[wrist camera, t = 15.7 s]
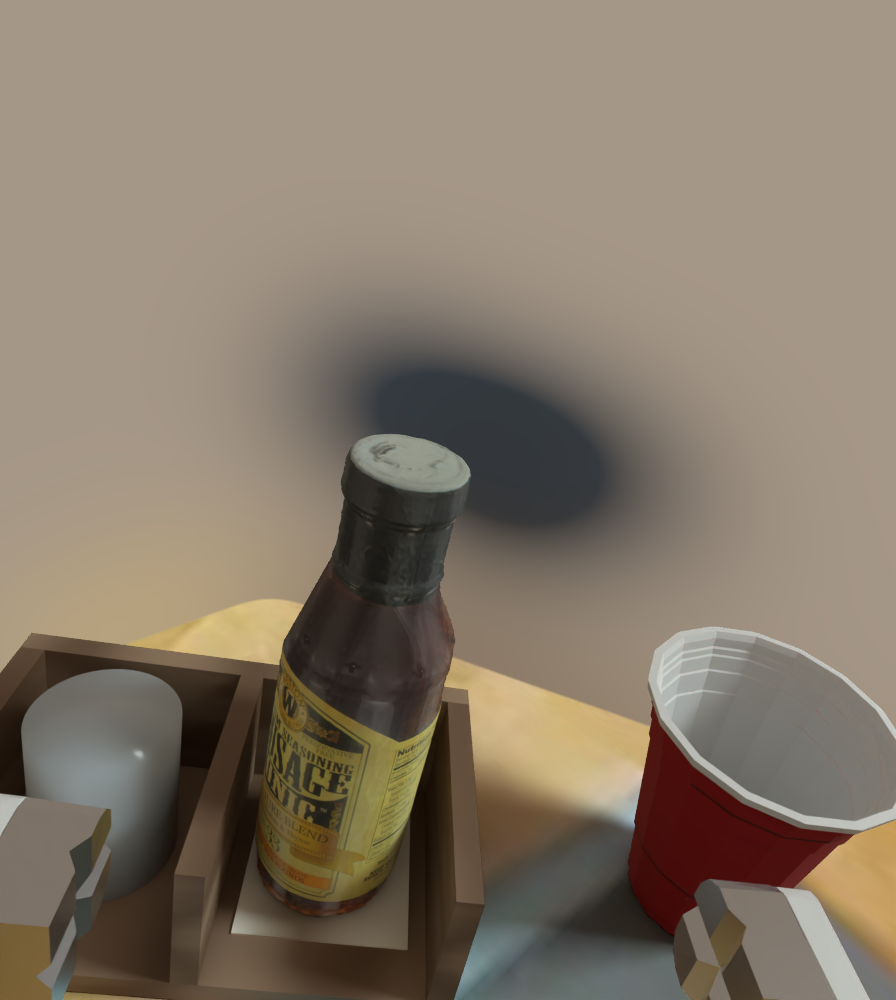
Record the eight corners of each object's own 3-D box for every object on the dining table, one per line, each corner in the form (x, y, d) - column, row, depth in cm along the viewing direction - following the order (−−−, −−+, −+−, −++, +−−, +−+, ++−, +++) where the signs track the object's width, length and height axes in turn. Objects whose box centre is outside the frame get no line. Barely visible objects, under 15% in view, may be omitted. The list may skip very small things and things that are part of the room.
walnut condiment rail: (-104, 977, 26) (-133, 843, 23) (39, 748, 36) (31, 633, 33) (446, 1021, 29) (484, 904, 26) (440, 793, 38) (467, 689, 35)
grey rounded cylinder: (4, 895, 29) (-10, 764, 26) (67, 782, 34) (61, 661, 31) (152, 909, 29) (156, 782, 26) (192, 796, 34) (198, 678, 31)
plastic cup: (573, 969, 31) (662, 764, 26) (577, 780, 41) (643, 603, 36) (830, 1047, 31) (975, 850, 25) (773, 835, 40) (869, 661, 35)
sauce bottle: (228, 836, 33) (265, 418, 24) (350, 784, 37) (419, 407, 28) (296, 965, 28) (372, 512, 20) (427, 891, 32) (537, 483, 24)
